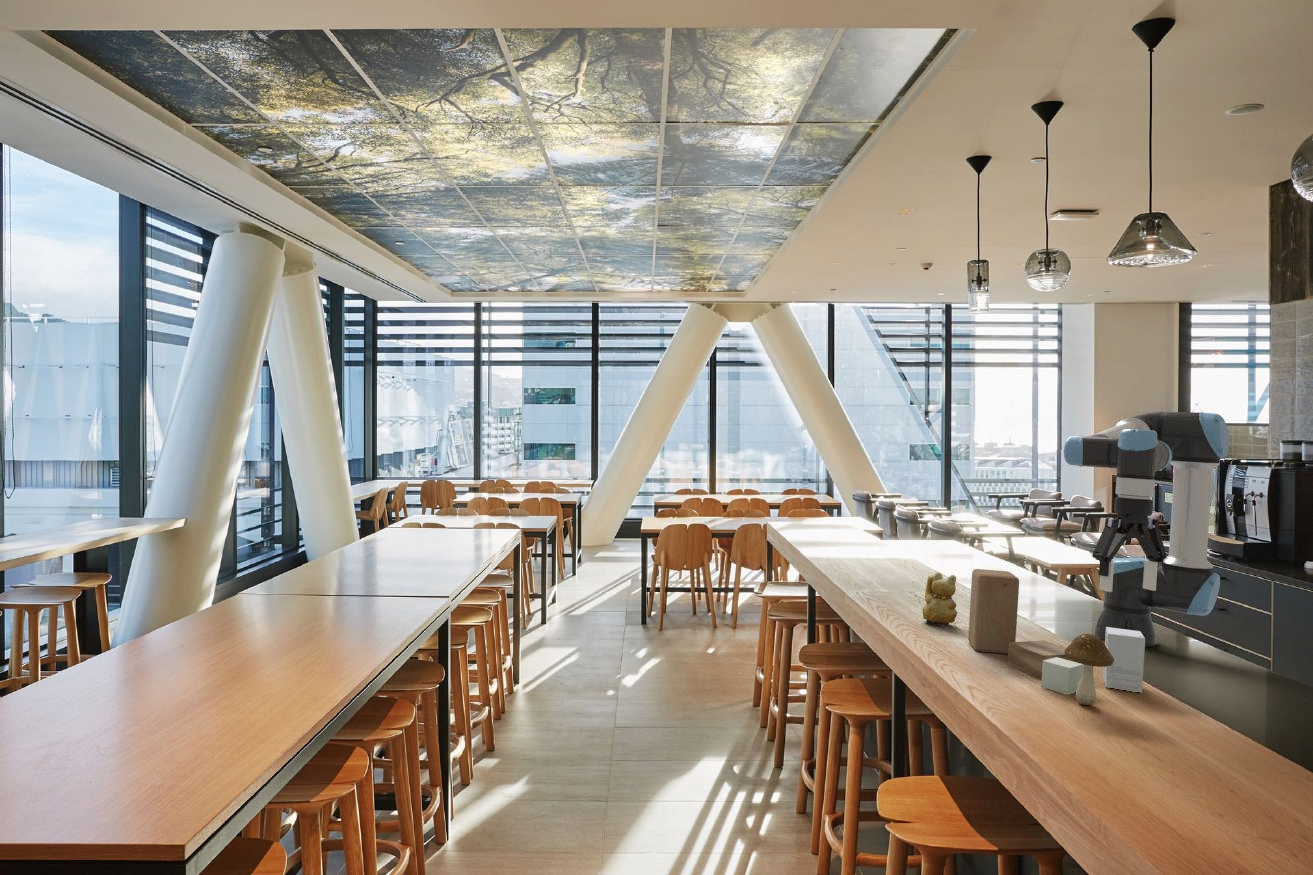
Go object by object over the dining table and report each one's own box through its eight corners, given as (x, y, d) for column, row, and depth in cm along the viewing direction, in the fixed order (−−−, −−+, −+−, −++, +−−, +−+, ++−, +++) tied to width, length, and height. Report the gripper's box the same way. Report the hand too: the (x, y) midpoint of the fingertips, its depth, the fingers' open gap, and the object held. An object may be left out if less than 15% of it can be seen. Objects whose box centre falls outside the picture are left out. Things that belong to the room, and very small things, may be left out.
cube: (1055, 683, 185) (1056, 657, 185) (1081, 690, 180) (1083, 664, 180) (1041, 687, 181) (1042, 660, 181) (1067, 695, 176) (1069, 667, 176)
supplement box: (1138, 685, 186) (1141, 630, 186) (1142, 694, 179) (1146, 638, 179) (1101, 679, 189) (1105, 625, 189) (1104, 688, 183) (1108, 632, 182)
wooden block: (1015, 655, 206) (1020, 577, 205) (974, 651, 208) (978, 574, 207) (1006, 645, 215) (1011, 571, 215) (967, 641, 217) (971, 567, 217)
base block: (1043, 664, 200) (1045, 640, 200) (1079, 678, 189) (1080, 653, 189) (1007, 666, 197) (1008, 642, 196) (1041, 681, 186) (1043, 655, 186)
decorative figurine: (958, 624, 236) (961, 573, 236) (952, 630, 229) (955, 577, 229) (924, 618, 241) (927, 569, 241) (917, 624, 234) (920, 572, 234)
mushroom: (1066, 711, 166) (1071, 638, 165) (1056, 693, 177) (1061, 625, 176) (1117, 718, 163) (1121, 644, 163) (1103, 700, 174) (1108, 631, 174)
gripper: (1157, 496, 191) (1151, 585, 192) (1078, 494, 182) (1072, 587, 183) (1188, 499, 184) (1182, 592, 185) (1107, 497, 175) (1101, 594, 176)
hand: (1127, 590), depth 184 cm, fingers open, 13 cm apart
